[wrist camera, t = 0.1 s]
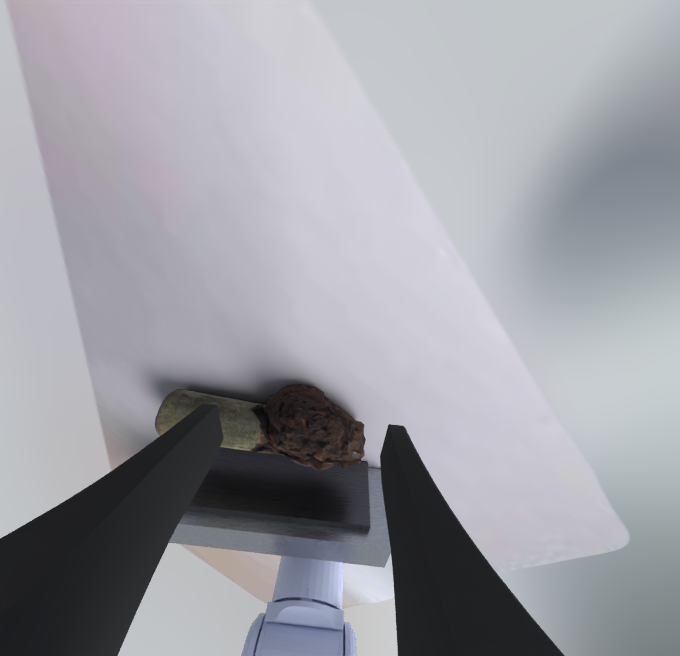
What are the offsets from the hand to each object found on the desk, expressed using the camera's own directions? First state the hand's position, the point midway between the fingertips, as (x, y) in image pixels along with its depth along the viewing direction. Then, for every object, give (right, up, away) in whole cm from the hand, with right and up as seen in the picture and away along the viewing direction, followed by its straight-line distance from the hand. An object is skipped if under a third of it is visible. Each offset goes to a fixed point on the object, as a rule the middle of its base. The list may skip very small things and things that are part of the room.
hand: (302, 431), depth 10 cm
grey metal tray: (-5, -12, +18) cm, 22 cm away
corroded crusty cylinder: (-5, -3, +14) cm, 15 cm away
